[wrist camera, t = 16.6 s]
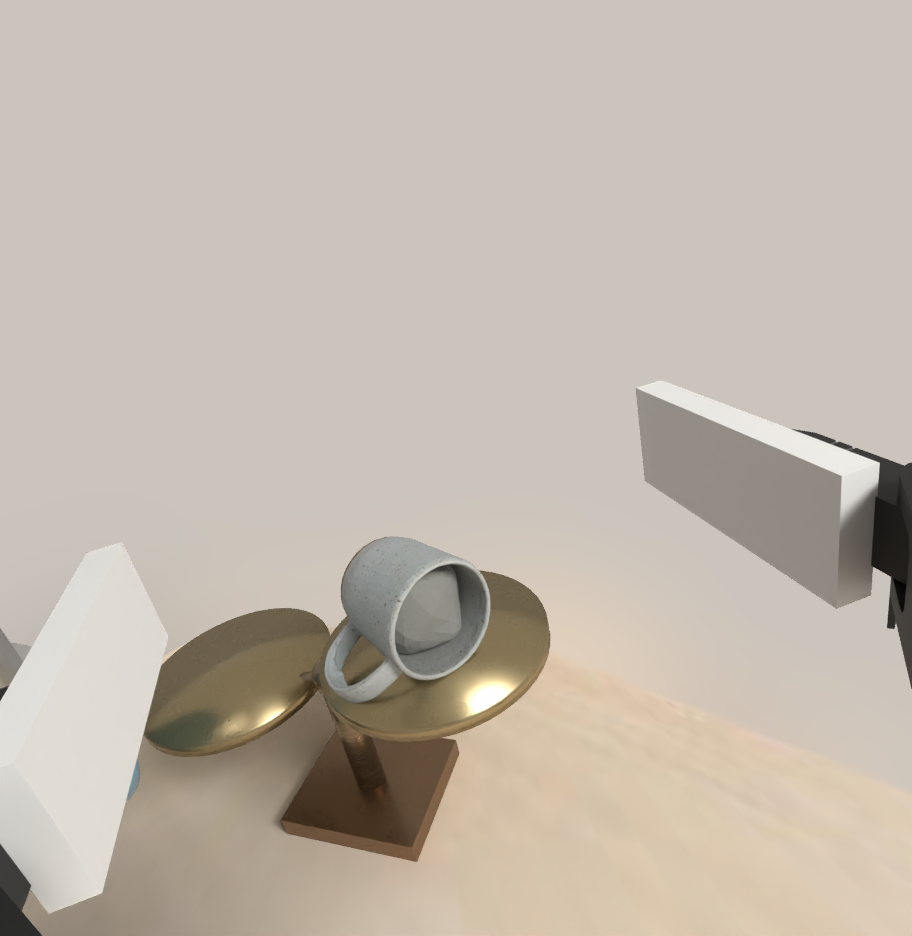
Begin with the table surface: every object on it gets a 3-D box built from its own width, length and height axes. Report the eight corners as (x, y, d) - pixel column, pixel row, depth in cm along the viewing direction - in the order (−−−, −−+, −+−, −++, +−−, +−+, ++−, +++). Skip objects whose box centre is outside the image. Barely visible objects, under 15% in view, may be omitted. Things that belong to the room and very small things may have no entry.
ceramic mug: (430, 594, 48) (405, 507, 45) (503, 637, 42) (479, 539, 39) (309, 675, 43) (271, 582, 40) (371, 738, 36) (331, 634, 33)
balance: (157, 841, 54) (64, 686, 47) (264, 701, 67) (205, 564, 61) (560, 941, 41) (514, 745, 34) (595, 741, 54) (567, 571, 47)
